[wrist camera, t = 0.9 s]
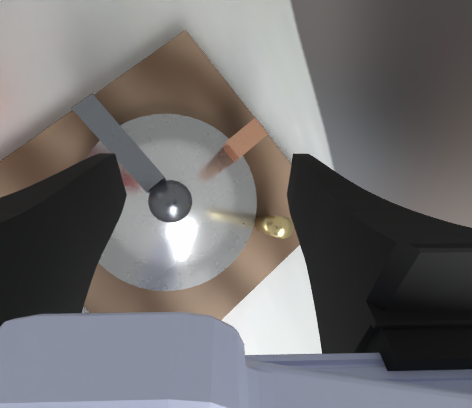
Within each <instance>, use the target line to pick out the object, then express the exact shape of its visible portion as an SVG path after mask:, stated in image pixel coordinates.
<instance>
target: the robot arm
mask: <svg viewBox="0 0 472 408" xmlns="http://www.w3.org/2000/svg"><path fill="white" fill-rule="evenodd" d="M126 196H127V194H126V190H125V187H124V183H123V180H122V176H121V173H120V169H119V166H118V162H117V158H116V155H115V153H99V154H96V155H93V156H91V157H89V158H87V159H85V160H82V161H80V162H78V163H76V164H74V165H72V166H70V167H69V168H67V169H65V170H63V171H61V172H59V173H57V174H55V175H52V176H50V177H48V178H46V179H44V180H42V181H40V182H37V183H35V184H33V185H31V186H29V187H26V188H24V189H22V190H19V191H17V192H14V193H11V194H9V195H6V196H3V197H1V198H0V408H472V228H470V227H466V226H461V225H457V224H453V223H450V222H446V221H443V220H439V219H436V218H433V217H430V216H426V215H424V214H421V213H418V212H415V211H412V210H409V209H407V208H404V207H402V206H399V205H397V204H394V203H391V202H389V201H387V200H385V199H382V198H380V197H378V196H376V195H374V194H372V193H370V192H368V191H366V190H364V189H362V188H361V187H359V186H357V185H356V184H354V183H352V182H350V181H349V180H347V179H345V178H344V177H342V176H341V175H339V174H338V173H336V172H335V171H333V170H332V169H330V168H329V167H328V166H326V165H325V164H323V163H322V162H320V161H319V160H317V159H316V158H314V157H313V156H311V155H309V154H293V158H292V164H291V171H290V177H289V183H288V190H287V200H288V206H289V211H290V215H291V219H292V222H293V225H294V228H295V231H296V234H297V237H298V240H299V243H300V246H301V249H302V252H303V255H304V258H305V261H306V265H307V270H308V274H309V279H310V284H311V289H312V294H313V300H314V305H315V310H316V316H317V322H318V328H319V334H320V341H321V348H322V354H286V355H245V351H244V343H243V341H242V339H241V337H240V335H239V333H238V331H237V330H236V329H235V328H234V327H232V326H231V325H229V324H227V323H225V322H223V321H221V320H219V319H217V318H215V317H213V316H211V315H203V314H195V313H187V312H138V313H82V309H83V306H84V303H85V300H86V296H87V293H88V290H89V287H90V284H91V281H92V278H93V275H94V272H95V270H96V267H97V264H98V262H99V260H100V257H101V255H102V253H103V251H104V249H105V247H106V245H107V243H108V241H109V239H110V237H111V235H112V233H113V231H114V229H115V227H116V225H117V223H118V220H119V218H120V216H121V214H122V210H123V207H124V204H125V200H126Z"/></svg>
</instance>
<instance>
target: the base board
mask: <svg viewBox="0 0 472 408" xmlns="http://www.w3.org/2000/svg"><path fill="white" fill-rule="evenodd" d="M94 96H95V97H96V99H97V100H98V101H99V102H100V103H101V104H102V105H103V107H104V108H105V109H106V110H107V111H108V112H109V113H110V115H111V116H112V117H113V118H114V119H115V120H116V122H117V123H118V124H119V125H122V124H124V123H126V122H128V121H130V120H133V119H136V118H139V117H142V116H148V115H153V114H178V115H183V116H188V117H192V118H195V119H198V120H201V121H203V122H205V123H207V124H209V125H211V126H213V127H214V128H216V129H217V130H219V131H220V132H222V133H223V134H224V135H225V136H226V137H228V138H229V139H230V138H231V137H232V136H233V135H235V134H236V133H237V132H238V131H240V130H241V129H242V128H243V127H244V126H246V125H247V124H248V123H249V122H250V121H252V120H253V119H254V118H255V117H254V116H253V115H252V114H251V112H250V111H249V110H248V108H247V107H246V106H245V105H244V103H243V102H242V101H241V100H240V98H239V97H238V96H237V95H236V93H235V92H234V91H233V89H232V88H231V87H230V86H229V84H228V83H227V82H226V81H225V79H224V78H223V77H222V75H221V74H220V73H219V72H218V70H217V69H216V68H215V67H214V65H213V64H212V63H211V62H210V60H209V59H208V58H207V56H206V55H205V54H204V53H203V51H202V50H201V49H200V48H199V46H198V45H197V44H196V43H195V41H194V40H193V39H192V37H191V36H190V35H189V34H188V32H187V31H186V30H185V31H184V32H182V33H181V34H179V35H178V36H177V37H175V38H174V39H172V40H171V41H169V42H168V43H167V44H165V45H164V46H162V47H161V48H160V49H158V50H157V51H155V52H154V53H153V54H151V55H150V56H148V57H147V58H145V59H144V60H143V61H141V62H140V63H138V64H137V65H136V66H134V67H133V68H131V69H130V70H129V71H127V72H126V73H124V74H123V75H122V76H120V77H119V78H117V79H116V80H114V81H113V82H112V83H110V84H109V85H107V86H106V87H105V88H103V89H102V90H100V91H99V92H98V93H96V94H95V95H94ZM99 141H100V140H99V139H98V138H97V136H96V135H95V134H94V133H93V132H92V131H91V130H90V129H89V127H88V126H87V125H86V124H85V123H84V122H83V121H82V120H81V118H80V117H79V116H78V115H77V114H76V113H75V112H74V111H73V110H72V111H71V112H69V113H68V114H66V115H65V116H64V117H62V118H61V119H59V120H58V121H57V122H55V123H54V124H52V125H51V126H50V127H48V128H47V129H45V130H44V131H43V132H41V133H40V134H38V135H37V136H35V137H34V138H33V139H31V140H30V141H28V142H27V143H26V144H24V145H23V146H21V147H20V148H19V149H17V150H16V151H14V152H13V153H11V154H10V155H9V156H7V157H6V158H4V159H3V160H2V161H0V198H1V197H3V196H6V195H9V194H11V193H14V192H17V191H19V190H22V189H24V188H26V187H29V186H31V185H33V184H35V183H37V182H40V181H42V180H44V179H46V178H48V177H50V176H52V175H55V174H57V173H59V172H61V171H63V170H65V169H67V168H69V167H70V166H72V165H74V164H76V163H78V162H80V161H82V160H85V159H86V158H87V156H88V155H89V153H90V152H91V150H92V149H93V148H94V147H95V145H96V144H97V143H98V142H99ZM243 156H244V158H245V160H246V162H247V164H248V166H249V168H250V170H251V173H252V176H253V179H254V183H255V188H256V196H257V209H256V217H257V216H259V215H273V216H284V217H288V218H289V219H291V215H290V211H289V206H288V200H287V190H288V183H289V177H290V171H291V163H290V162H289V160H288V159H287V158H286V157H285V155H284V154H283V153H282V152H281V150H280V149H279V148H278V146H277V145H276V144H275V143H274V141H273V140H272V139H271V138H270V136H269V135H267V136H265V137H264V138H263V139H262V140H261V141H259V142H258V143H257V144H256V145H255V146H253V147H252V148H251V149H250V150H249V151H248V152H246V153H245V154H244V155H243ZM256 217H255V219H256ZM291 221H292V219H291ZM299 245H300V243H299V240H298V237H297V234H296V231H295V228H294V230H293V233H292V234H291V236H289V237H288V238H285V239H282V238H278V237H275V236H272V235H268V234H265V233H262V232H259V231H257V230H256V228H255V226H253V229H252V232H251V234H250V237H249V239H248V241H247V243H246V245H245V247H244V248H243V250H242V251H241V253H240V254H239V256H238V257H237V258H236V259H235V260H234V261H233V262H232V264H231V265H230V266H229V267H227V268H226V269H225V270H224V271H223V272H221V273H220V274H219V275H217V276H215V277H214V278H212V279H211V280H209V281H207V282H204V283H202V284H200V285H197V286H194V287H191V288H187V289H182V290H176V291H156V290H149V289H144V288H140V287H137V286H134V285H131V284H129V283H127V282H125V281H123V280H121V279H119V278H117V277H116V276H114V275H113V274H111V273H110V272H108V271H107V270H106V269H105V268H104V267H103V266H101V265H100V264H99V263H98V264H97V267H96V270H95V272H94V275H93V278H92V281H91V284H90V287H89V290H88V293H87V296H86V300H85V303H84V307H85V308H86V309H87V310H88V311H89V312H90V313H138V312H187V313H195V314H203V315H211V316H213V317H215V318H217V319H219V320H222V319H223V318H224V317H225V316H226V315H227V314H228V313H229V312H230V311H231V310H232V309H233V308H234V307H235V306H236V305H237V304H238V303H239V302H240V301H241V300H243V299H244V298H245V297H246V296H247V295H248V294H249V293H250V292H251V291H252V290H253V289H254V288H255V287H256V286H257V285H258V284H259V283H260V282H261V281H262V280H263V279H264V278H265V277H266V276H268V275H269V274H270V273H271V272H272V271H273V270H274V269H275V268H276V267H277V266H278V265H279V264H280V263H281V262H282V261H283V260H284V259H285V258H286V257H287V256H288V255H289V254H290V253H291V252H293V251H294V250H295V249H296V248H297V247H298V246H299Z"/></svg>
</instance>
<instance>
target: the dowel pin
mask: <svg viewBox="0 0 472 408" xmlns="http://www.w3.org/2000/svg"><path fill="white" fill-rule="evenodd" d="M254 226H255V228H256V230H257V231H259V232H262V233H265V234H268V235H272V236H275V237H278V238H282V239H285V238H288V237H289V236H291V234H292V233H293V230H294V225H293V222H292V221H291V219H289V218H288V217H284V216H273V215H259V216H257V217H256V219H255V222H254Z"/></svg>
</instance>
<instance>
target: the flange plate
mask: <svg viewBox="0 0 472 408" xmlns="http://www.w3.org/2000/svg"><path fill="white" fill-rule="evenodd" d="M72 109H73V111H74V112H75V113H76V114H77V115H78V116H79V117H80V118H81V120H82V121H83V122H84V123H85V124H86V125H87V126H88V127H89V129H90V130H91V131H92V132H93V133H94V134H95V135H96V136H97V138H98V139H99V140H100V141H99V142H98V143H97V144H96V145H95V147H94V148H93V149H92V150H91V152H90V153H89V155H88V156H87V158H89V157H91V156H93V155H96V154H99V153H115V155H116V158H117V162H118V166H119V169H120V173H121V176H122V180H123V183H124V187H125V190H126V194H127V196H126V200H125V204H124V207H123V210H122V214H121V216H120V218H119V220H118V223H117V225H116V227H115V229H114V231H113V233H112V235H111V237H110V239H109V241H108V243H107V245H106V247H105V249H104V251H103V253H102V255H101V257H100V260H99V262H98V263H99V264H100V265H101V266H103V267H104V268H105V269H106V270H107V271H108V272H110V273H111V274H113V275H114V276H116V277H117V278H119V279H121V280H123V281H125V282H127V283H129V284H131V285H134V286H137V287H140V288H144V289H149V290H156V291H176V290H182V289H187V288H191V287H194V286H197V285H200V284H202V283H204V282H207V281H209V280H211V279H212V278H214V277H215V276H217V275H219V274H220V273H221V272H223V271H224V270H225V269H226V268H227V267H229V266H230V265H231V264H232V262H233V261H234V260H235V259H236V258H237V257H238V256H239V254H240V253H241V251H242V250H243V248H244V247H245V245H246V243H247V241H248V239H249V237H250V234H251V232H252V229H253V226H254V222H255V217H256V209H257V196H256V188H255V183H254V179H253V176H252V173H251V170H250V168H249V166H248V164H247V162H246V160H245V158H244V156H243V155H244V154H245V153H246V152H248V151H249V150H250V149H251V148H252V147H253V146H255V145H256V144H257V143H258V142H259V141H261V140H262V139H263V138H264V137H265V136H267V135H268V133H267V132H266V131H265V129H264V128H263V127H262V126H261V124H260V123H259V122H258V120H257V119H256V118H254V119H253V120H252V121H250V122H249V123H248V124H247V125H246V126H244V127H243V128H242V129H241V130H240V131H238V132H237V133H236V134H235V135H233V136H232V137H231V138H230V139H229V138H228V137H226V136H225V135H224V134H223V133H222V132H220V131H219V130H217V129H216V128H214V127H213V126H211V125H209V124H207V123H205V122H203V121H201V120H198V119H195V118H192V117H188V116H183V115H178V114H153V115H148V116H142V117H139V118H136V119H133V120H130V121H128V122H126V123H124V124H122V125H119V124H118V123H117V122H116V120H115V119H114V118H113V117H112V116H111V115H110V113H109V112H108V111H107V110H106V109H105V108H104V107H103V105H102V104H101V103H100V102H99V101H98V100H97V99H96V97H95V96H94V95H93V94H91V95H89V96H88V97H86V98H85V99H84V100H82V101H81V102H79V103H78V104H77V105H75V106H74V107H72ZM87 158H86V159H87Z"/></svg>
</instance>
